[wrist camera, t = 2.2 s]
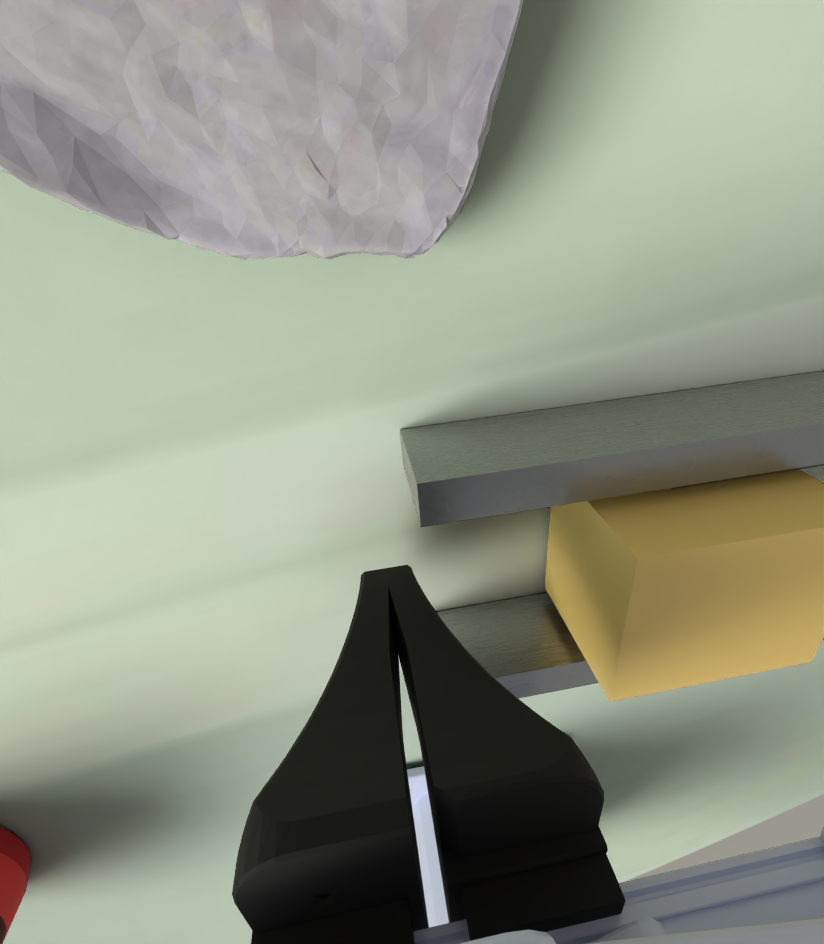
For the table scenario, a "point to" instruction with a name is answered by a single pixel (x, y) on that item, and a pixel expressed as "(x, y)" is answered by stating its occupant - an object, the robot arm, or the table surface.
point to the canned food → (11, 877)
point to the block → (691, 581)
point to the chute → (595, 487)
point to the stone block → (256, 116)
